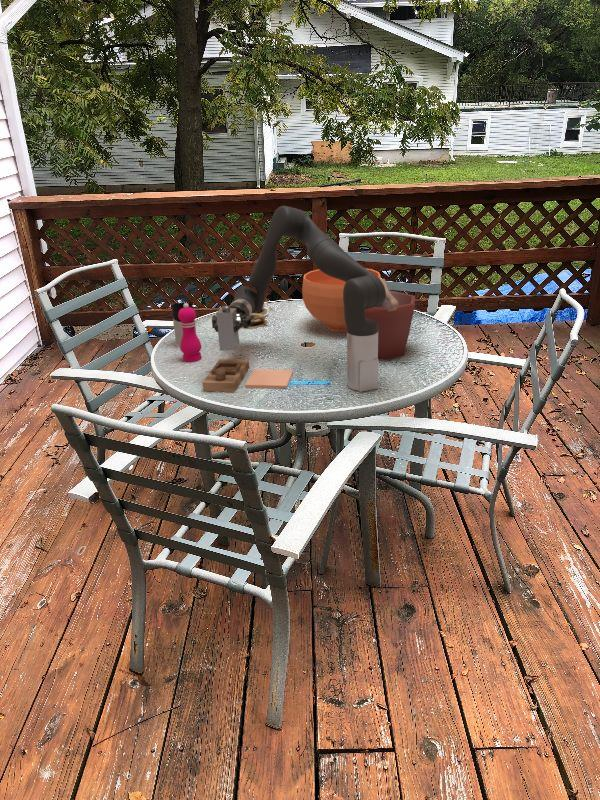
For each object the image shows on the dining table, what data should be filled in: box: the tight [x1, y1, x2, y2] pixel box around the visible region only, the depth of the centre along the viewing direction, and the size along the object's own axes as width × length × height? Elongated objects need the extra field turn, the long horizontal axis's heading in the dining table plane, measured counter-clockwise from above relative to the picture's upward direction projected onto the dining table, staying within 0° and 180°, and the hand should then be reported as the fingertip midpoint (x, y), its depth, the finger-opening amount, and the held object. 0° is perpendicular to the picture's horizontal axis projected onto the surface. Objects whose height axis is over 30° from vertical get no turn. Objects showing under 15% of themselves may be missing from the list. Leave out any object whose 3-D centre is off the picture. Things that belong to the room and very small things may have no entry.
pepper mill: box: [178, 303, 202, 363], centre depth 215 cm, size 7×7×20 cm
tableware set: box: [242, 304, 274, 330], centre depth 261 cm, size 30×20×6 cm, turn 5°
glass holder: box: [171, 301, 197, 348], centre depth 229 cm, size 9×14×15 cm, turn 28°
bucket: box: [365, 278, 416, 361], centre depth 213 cm, size 24×22×25 cm
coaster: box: [244, 368, 294, 389], centre depth 199 cm, size 13×13×1 cm
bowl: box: [301, 267, 382, 333], centre depth 241 cm, size 30×30×20 cm
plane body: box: [202, 358, 250, 393], centre depth 200 cm, size 20×10×6 cm, turn 172°
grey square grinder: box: [215, 305, 240, 352], centre depth 193 cm, size 5×5×13 cm
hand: (225, 328), depth 191 cm, fingers closed on grey square grinder, 5 cm apart
